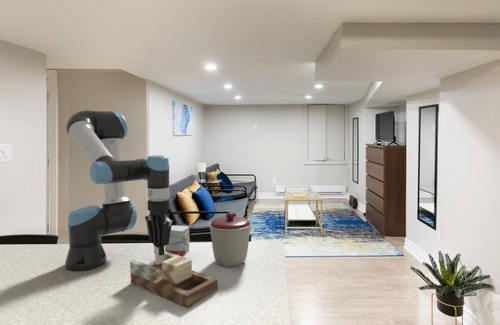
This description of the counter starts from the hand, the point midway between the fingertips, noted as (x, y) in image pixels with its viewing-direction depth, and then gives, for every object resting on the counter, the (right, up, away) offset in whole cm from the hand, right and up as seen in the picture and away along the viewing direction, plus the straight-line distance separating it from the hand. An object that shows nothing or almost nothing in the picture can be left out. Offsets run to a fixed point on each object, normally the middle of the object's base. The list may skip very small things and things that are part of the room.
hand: (159, 262), depth 113 cm
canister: (+25, -6, +18) cm, 31 cm away
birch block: (+8, -3, -5) cm, 10 cm away
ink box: (0, -5, +29) cm, 29 cm away
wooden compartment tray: (+6, -7, -4) cm, 10 cm away
